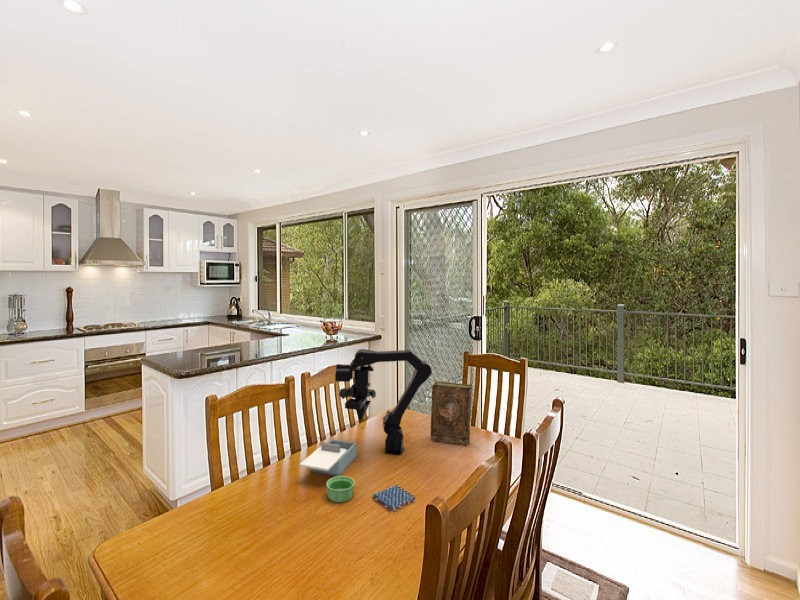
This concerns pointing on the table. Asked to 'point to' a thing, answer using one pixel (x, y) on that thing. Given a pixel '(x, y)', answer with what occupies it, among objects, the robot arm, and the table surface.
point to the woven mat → (393, 498)
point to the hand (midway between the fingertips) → (360, 419)
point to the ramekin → (340, 488)
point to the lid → (324, 457)
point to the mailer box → (344, 460)
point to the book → (451, 413)
